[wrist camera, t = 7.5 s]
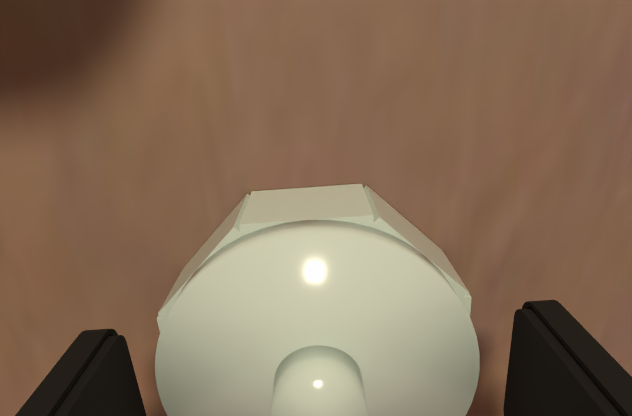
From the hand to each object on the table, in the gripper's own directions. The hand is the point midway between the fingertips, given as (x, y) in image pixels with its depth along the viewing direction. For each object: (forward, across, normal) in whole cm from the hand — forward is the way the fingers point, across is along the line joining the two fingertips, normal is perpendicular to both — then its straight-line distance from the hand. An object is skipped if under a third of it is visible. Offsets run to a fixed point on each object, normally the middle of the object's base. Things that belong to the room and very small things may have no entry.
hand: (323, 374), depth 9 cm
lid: (+2, 0, 0) cm, 2 cm away
